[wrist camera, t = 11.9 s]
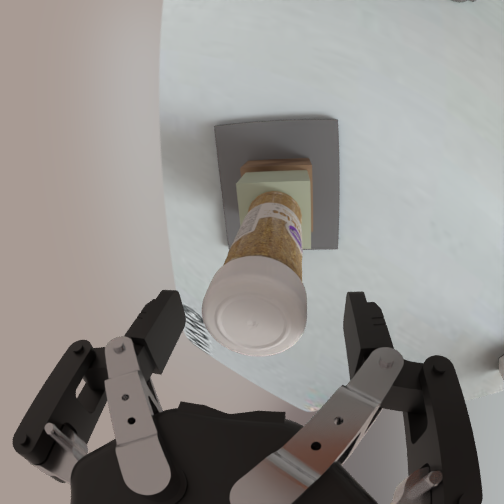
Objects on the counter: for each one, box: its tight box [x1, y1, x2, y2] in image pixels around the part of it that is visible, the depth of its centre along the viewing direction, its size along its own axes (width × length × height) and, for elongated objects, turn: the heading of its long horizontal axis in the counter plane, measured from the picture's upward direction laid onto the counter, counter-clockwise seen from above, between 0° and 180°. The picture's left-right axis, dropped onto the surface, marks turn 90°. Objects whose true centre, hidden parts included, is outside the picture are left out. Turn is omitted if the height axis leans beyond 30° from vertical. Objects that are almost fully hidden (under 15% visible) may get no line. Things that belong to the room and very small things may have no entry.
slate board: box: [214, 119, 339, 250], centre depth 33 cm, size 14×16×1 cm
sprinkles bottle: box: [202, 191, 307, 356], centre depth 17 cm, size 5×4×14 cm
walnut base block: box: [240, 158, 313, 232], centre depth 30 cm, size 7×7×5 cm
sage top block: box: [236, 170, 311, 249], centre depth 25 cm, size 6×6×5 cm
